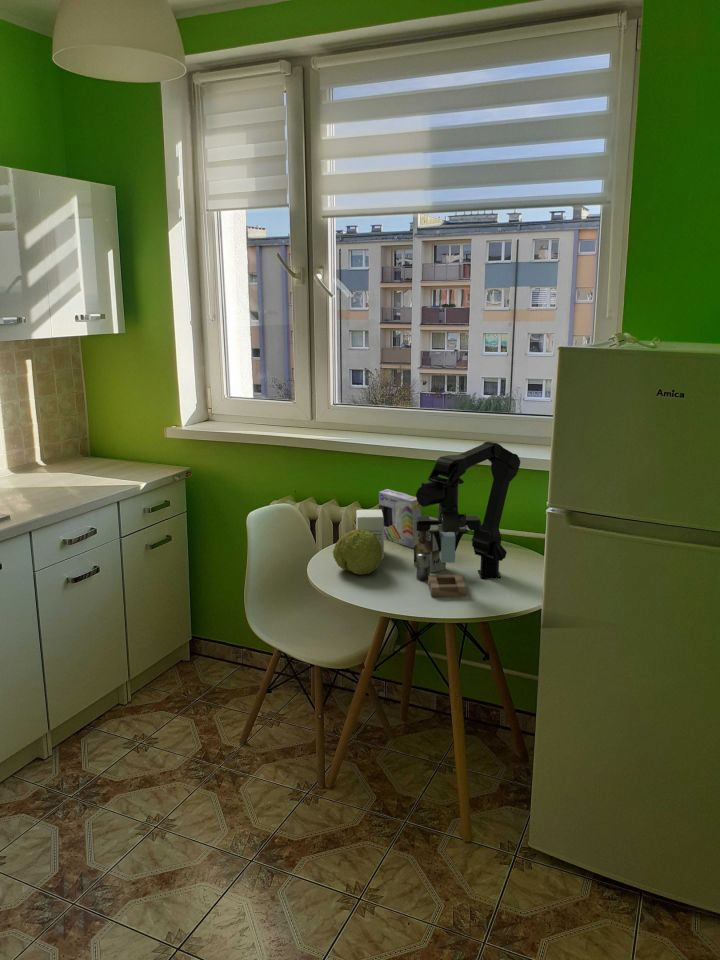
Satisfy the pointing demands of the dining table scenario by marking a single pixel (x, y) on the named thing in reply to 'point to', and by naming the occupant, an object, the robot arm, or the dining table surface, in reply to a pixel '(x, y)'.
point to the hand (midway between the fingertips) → (447, 551)
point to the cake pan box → (399, 516)
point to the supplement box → (372, 523)
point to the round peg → (423, 566)
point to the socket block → (446, 586)
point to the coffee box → (428, 547)
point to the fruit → (358, 552)
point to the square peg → (447, 547)
